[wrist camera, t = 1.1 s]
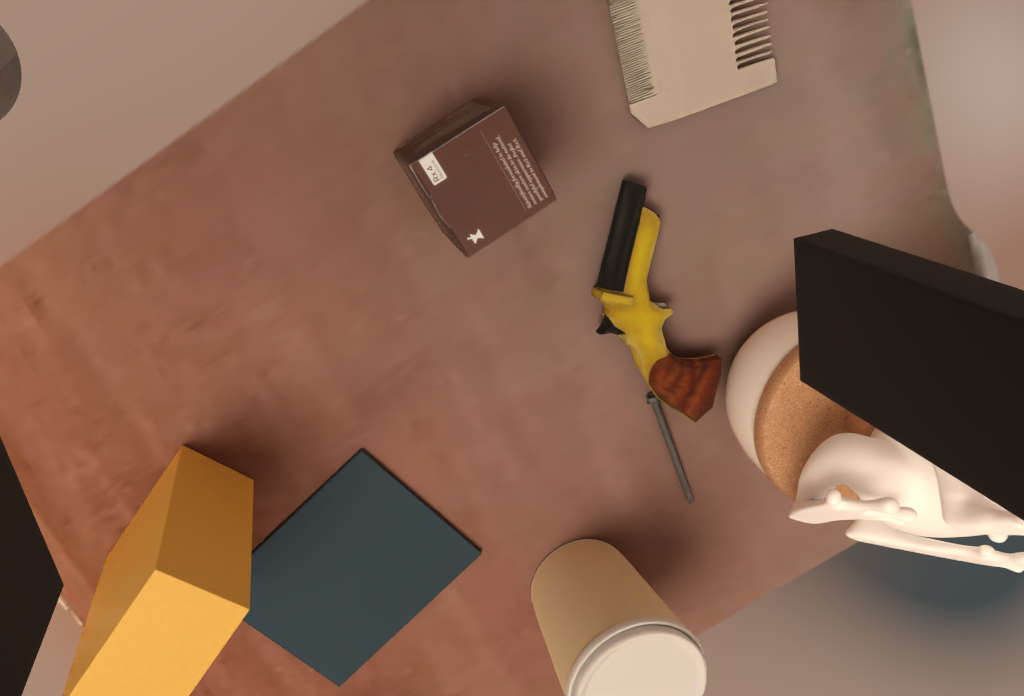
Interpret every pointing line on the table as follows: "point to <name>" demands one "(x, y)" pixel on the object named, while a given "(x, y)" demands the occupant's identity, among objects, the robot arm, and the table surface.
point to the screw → (670, 444)
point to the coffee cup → (612, 627)
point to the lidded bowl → (782, 406)
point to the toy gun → (648, 310)
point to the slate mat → (352, 569)
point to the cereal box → (170, 585)
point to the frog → (901, 501)
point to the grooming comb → (686, 56)
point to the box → (475, 175)
